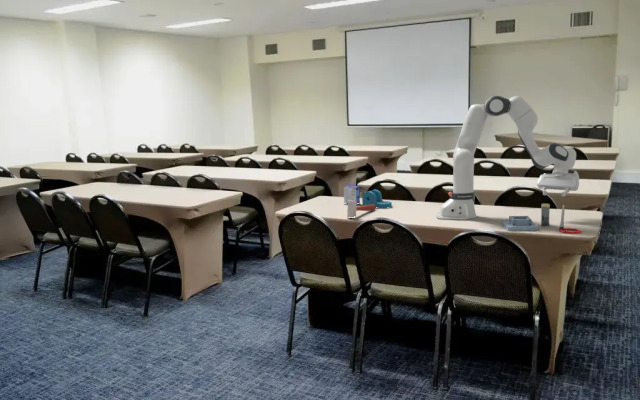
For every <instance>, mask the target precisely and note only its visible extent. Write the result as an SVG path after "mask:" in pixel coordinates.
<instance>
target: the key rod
mask: <svg viewBox="0 0 640 400" xmlns="http://www.w3.org/2000/svg"><path fill="white" fill-rule="evenodd" d="M550 206H551V205H550V203H541V206H540V207H541V210H540V211H541V214H540V215H541V216H540V217H541V218H540V226H541V227H549V226H550V211H551V210H550Z"/></svg>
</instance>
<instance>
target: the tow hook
mask: <svg viewBox="0 0 640 400" xmlns="http://www.w3.org/2000/svg"><path fill="white" fill-rule="evenodd" d="M565 211H566V210H565V205H562V207H561V216H560V217H561V218H560V223H559V227H558V228H559V230H558V231H559V232H560V233H561V234H564V233H566V234H573V235H574V234H575V235H576V234H581V233H582V231H581V229H578V228H574V227H564V226H565V225H564V224H565V221H564V220H565Z"/></svg>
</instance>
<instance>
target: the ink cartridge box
mask: <svg viewBox="0 0 640 400" xmlns="http://www.w3.org/2000/svg"><path fill="white" fill-rule="evenodd" d="M360 192H361V191H360V186H359V185H357V186H356V183H355V182H349V186H348V185H347V186H343V204H344V203H348V201H356V202H357V203H360V204H361V195H360V194H361V193H360Z"/></svg>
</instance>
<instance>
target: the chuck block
mask: <svg viewBox="0 0 640 400" xmlns="http://www.w3.org/2000/svg"><path fill="white" fill-rule="evenodd" d="M502 222H503V223H502V224H503V227H504V228H505V229H506V230H507V231H508V232H509V231H510V232H511V231H512V232H515V231H516V232H518V231H519V232H522V231H523V232H524V231H525V232H526V231H527V232H529V231H530V232H531V231H532V232H533V231H539V226H538V225H537V224H536V223H535V222H534V221H533V220H532V218H530V216H529V215H509V216H508V220H502Z"/></svg>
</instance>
